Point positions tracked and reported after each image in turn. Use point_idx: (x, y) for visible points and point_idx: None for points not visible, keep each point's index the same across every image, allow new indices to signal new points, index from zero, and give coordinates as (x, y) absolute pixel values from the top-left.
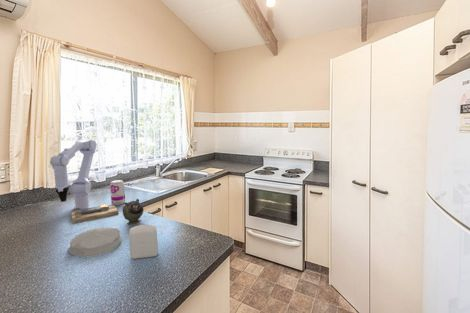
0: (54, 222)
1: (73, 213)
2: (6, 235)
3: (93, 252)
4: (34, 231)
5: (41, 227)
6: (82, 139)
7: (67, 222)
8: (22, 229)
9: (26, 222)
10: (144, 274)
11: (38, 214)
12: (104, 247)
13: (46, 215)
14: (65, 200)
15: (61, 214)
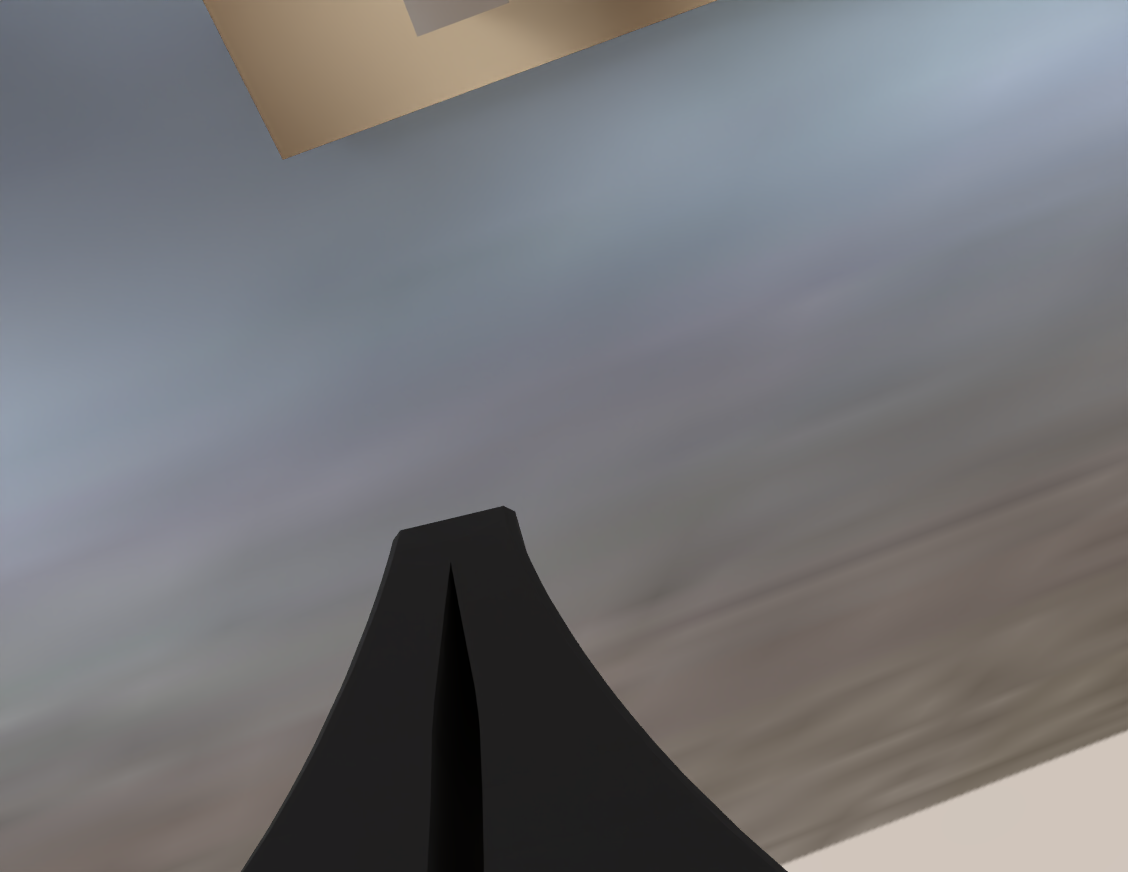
0: (738, 352)
1: (464, 29)
2: (1023, 758)
3: None
4: (1101, 494)
5: (941, 472)
6: None
7: (904, 25)
8: (870, 696)
9: None
10: None
11: (64, 831)
12: None
13: (158, 688)
14: (516, 534)
15: (131, 426)
